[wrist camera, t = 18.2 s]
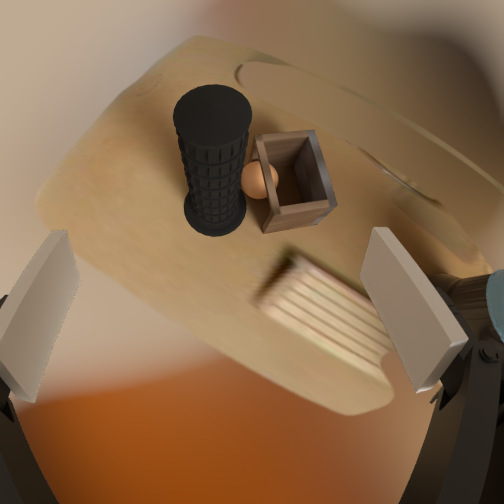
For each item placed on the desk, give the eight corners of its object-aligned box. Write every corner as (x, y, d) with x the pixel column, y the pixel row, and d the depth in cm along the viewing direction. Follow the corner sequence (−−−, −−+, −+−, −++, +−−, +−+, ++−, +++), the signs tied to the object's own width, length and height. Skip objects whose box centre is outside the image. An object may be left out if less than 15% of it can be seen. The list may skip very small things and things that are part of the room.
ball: (247, 210, 49) (284, 200, 49) (241, 178, 44) (281, 168, 45) (239, 189, 53) (273, 180, 53) (233, 159, 48) (269, 150, 49)
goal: (316, 224, 51) (337, 205, 42) (263, 234, 50) (273, 215, 40) (298, 159, 53) (314, 129, 44) (248, 166, 52) (254, 135, 42)
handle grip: (178, 185, 50) (191, 243, 49) (147, 78, 25) (162, 170, 23) (237, 172, 52) (253, 228, 50) (253, 59, 26) (286, 144, 24)
